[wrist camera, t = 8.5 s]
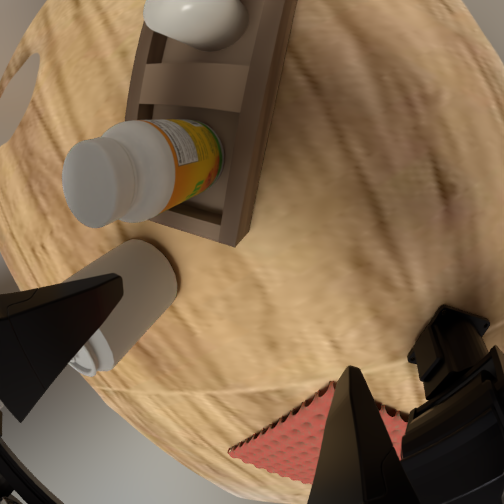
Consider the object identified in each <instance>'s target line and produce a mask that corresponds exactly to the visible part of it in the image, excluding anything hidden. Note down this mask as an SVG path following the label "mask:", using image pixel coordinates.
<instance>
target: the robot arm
mask: <svg viewBox="0 0 504 504" xmlns="http://www.w3.org/2000/svg"><path fill="white" fill-rule="evenodd" d="M123 295H124V289H123V278H122V277H121V276H120V275H118V274H116V273H109V274H104V275H99V276H94V277H89V278H84V279H79V280H75V281H70V282H65V283H60V284H55V285H50V286H46V287H41V288H39V289H38V288H36V289H31V290H26V291H21V292H14V293H7V294H0V409H1V407H3V406H4V405H5V406H6V407H7V409H8V410H9V411H10V412H11V413H12V414H13V415H14V417H15V418H16V419H17V420H18V421H19V422H20V423H21V422H22V421H23V420H24V419H25V417H26V416H27V415H28V413H29V412H30V411H31V409H32V408H33V407H34V405H35V404H36V403H37V402H38V400H39V399H40V398H41V397H42V395H43V394H44V393H45V391H46V390H47V389H48V388H49V386H50V385H51V384H52V382H53V381H54V380H55V379H56V378H57V376H58V375H59V374H60V373H61V372H62V370H63V369H64V368H65V367H66V365H67V364H68V363H69V362H70V361H71V360H72V358H73V357H74V356H75V355H76V354H77V353H78V351H79V350H80V349H81V348H82V347H83V346H84V345H85V343H86V342H87V341H88V340H89V339H90V338H91V337H92V336H93V334H94V333H95V332H96V331H97V330H98V329H99V328H100V327H101V325H102V324H103V323H104V322H105V320H106V319H107V318H108V316H109V315H110V314H111V312H112V311H113V310H114V308H115V307H116V306H117V304H118V303H119V302H120V300H121V299H122V297H123ZM444 310H445V312H443V311H444ZM489 326H490V322H489V320H488V319H487V318H484V317H480V316H477V315H474V314H471V313H468V312H465V311H462V310H459V309H456V308H453V307H450V306H447V305H442V306H441V307H440V308H439V309H438V311H437V312H436V314H435V316H434V317H433V319H432V320H431V322H430V324H429V325H428V326H427V327H426V329H425V330H424V332H423V333H422V335H421V336H420V338H419V339H418V341H417V342H416V344H415V345H414V348H413V349H412V350H411V352H410V353H409V355H408V356H407V358H408V362H409V363H413V364H417V367H418V373H419V378H420V381H422V382H423V384H424V390H425V396H426V400H429V401H427V402H426V403H424V404H423V405H421V406H420V407H418V408H415V409H413V410H411V411H410V414H409V419H408V423H407V427H406V431H405V435H403V436H402V440H401V454H400V456H401V460H399V457H398V455H397V453H396V450H395V448H394V447H393V443H392V441H391V438H390V436H389V433H388V431H387V429H386V426H385V424H384V422H383V419H382V417H381V415H380V412H379V410H378V408H377V405H376V403H375V401H374V399H373V396H372V394H371V392H370V390H369V388H368V385H367V383H366V381H365V379H364V377H363V374H362V372H361V370H360V369H359V368H357V367H354V366H348V367H347V368H346V369H345V371H344V372H343V374H342V375H341V377H340V378H339V380H338V382H337V384H336V388H335V392H334V395H333V399H332V402H331V406H330V409H329V413H328V416H327V420H326V424H325V429H324V434H323V439H322V444H321V449H320V454H319V458H318V463H317V467H316V472H315V476H314V480H313V484H312V488H311V492H310V495H309V499H308V503H307V504H504V354H503V352H502V351H501V350H500V349H499V348H498V347H497V346H496V345H495V346H494V347H492V348H491V349H490V352H488V350H487V347H486V345H485V343H484V341H483V339H482V336H483V335H484V333H485V332H486V330H487V329H488V327H489ZM412 357H414V358H412ZM1 436H2V412H1V410H0V504H22V503H21V502H20V501H19V500H18V499H17V498H15V497H14V496H13V495H11V493H12V492H13V490H15V491H16V492H17V493H18V494H19V495H20V496H21V497H22V499H23V500H24V501H25V502H26V503H28V504H64V503H63V502H62V501H61V500H59V499H58V498H57V497H56V496H55V495H54V494H53V493H52V492H50V491H49V490H48V489H47V488H46V487H45V486H44V485H43V484H42V483H41V482H40V481H39V480H38V479H37V478H36V477H35V476H34V475H33V474H32V473H31V472H30V471H29V470H28V469H27V468H26V467H25V466H24V464H23V463H22V462H21V461H20V460H19V459H18V458H17V457H16V455H15V454H14V453H13V452H12V451H11V449H10V448H9V447H8V446H7V445H6V443H5V442H4V441H3V439H2V438H1Z"/></svg>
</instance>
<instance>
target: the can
mask: <svg viewBox="0 0 504 504" xmlns="http://www.w3.org/2000/svg"><path fill="white" fill-rule="evenodd" d="M109 273H116V274H118V275H120V276H121V277H122V278H123V289H124V295H123V297H122V299H121V300H120V302H119V303H118V304H117V306H116V307H115V308H114V310H113V311H112V312H111V314H110V315H109V316H108V318H107V319H106V320H105V322H104V323H103V324H102V325H101V327H100V328H99V329H98V330H97V331H96V332H95V333H94V334H93V336H92V337H91V338H90V339H89V340H88V341H87V342H86V343H85V345H84V346H83V347H82V348H81V349H80V350H79V351H78V353H77V354H76V355H75V356H74V357H73V358H72V360H71V361H70V362H69V363H68V364H69V365H70V366H71V367H73V368H74V369H75V370H77V371H78V372H80V373H81V374H83V375H86V376H90V377H92V376H94V375H96V371H109V370H111V369H113V368H114V367H115V365H116V364H117V363H118V362H119V361H120V360H121V359H122V358H123V357H124V355H125V354H126V353H127V352H128V351H129V350H130V349H131V348H132V347H133V345H134V344H135V343H136V342H137V341H138V340H139V339H140V338H141V337H142V336H143V334H144V333H145V332H146V331H147V330H148V329H149V328H150V327H151V326H152V325H153V324H154V322H155V321H156V320H157V319H158V318H159V317H160V316H161V315H162V314H163V313H164V312H165V311H166V309H167V308H168V307H169V306H170V305H171V304H172V303H173V301H174V299H175V298H176V295H177V281H176V276H175V273H174V271H173V269H172V267H171V265H170V263H169V261H168V260H167V259H166V257H165V256H164V255H163V253H161V252H160V251H159V250H158V249H156V248H155V247H154V246H153V245H152V244H149V243H147V242H145V241H142V240H135V239H131V240H129V241H126V242H124V243H122V244H121V245H119V246H117V247H116V248H114V249H112V250H111V251H109V252H108V253H106V254H104V255H103V256H101V257H100V258H98V259H97V260H95V261H93V262H92V263H90V264H89V265H87V266H86V267H84V268H83V269H81V270H80V271H78V272H77V273H75V274H74V275H72V276H71V277H69V278H68V279H66V280H65V281H63V282H62V283H65V282H70V281H75V280H79V279H84V278H89V277H94V276H99V275H104V274H109Z"/></svg>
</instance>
